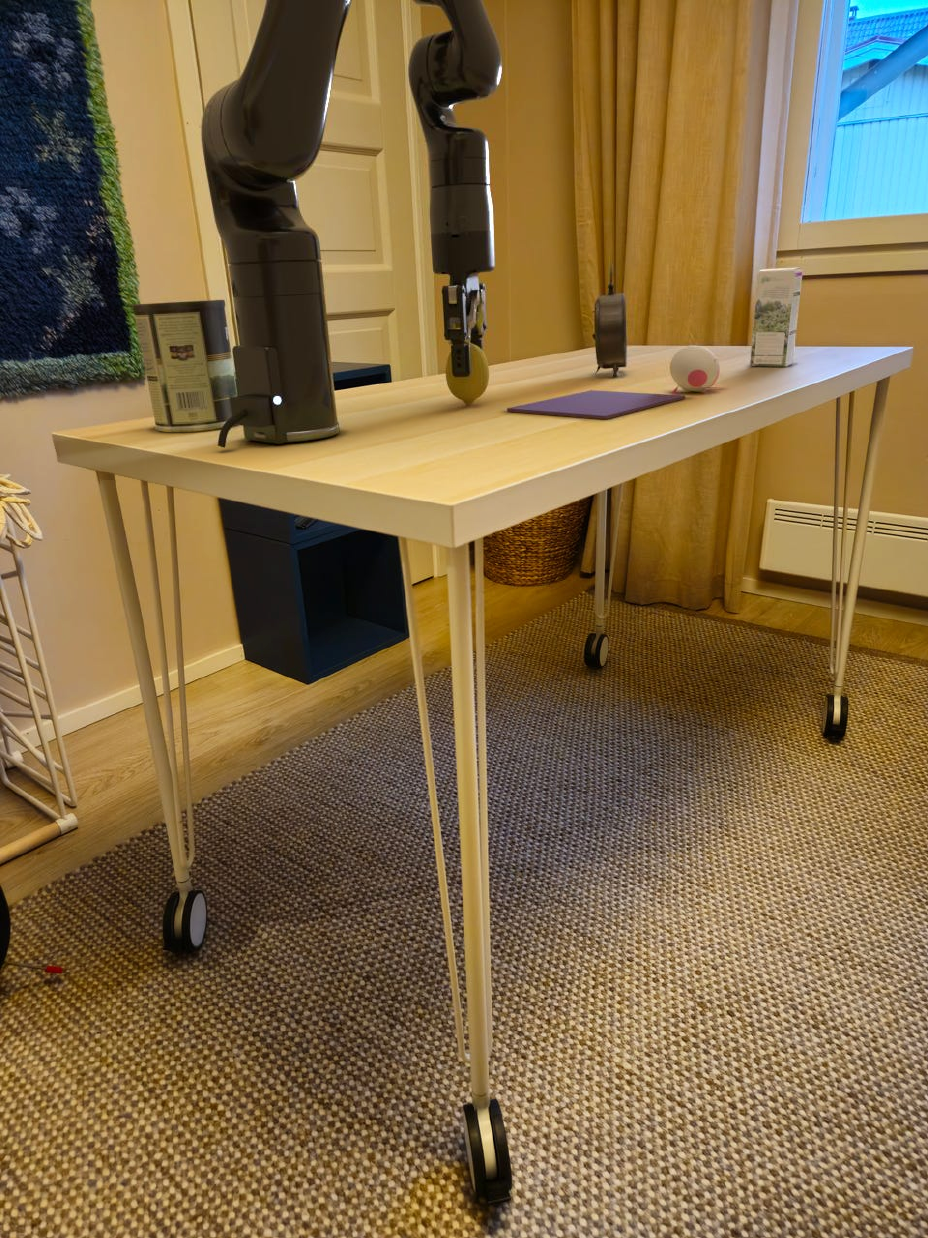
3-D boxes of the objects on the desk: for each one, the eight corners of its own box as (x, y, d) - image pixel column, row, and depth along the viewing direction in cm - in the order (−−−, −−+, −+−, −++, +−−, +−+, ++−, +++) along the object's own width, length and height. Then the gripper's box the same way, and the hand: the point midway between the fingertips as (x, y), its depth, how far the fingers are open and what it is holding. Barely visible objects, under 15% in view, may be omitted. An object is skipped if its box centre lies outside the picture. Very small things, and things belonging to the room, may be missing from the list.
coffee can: (222, 416, 107) (205, 299, 102) (256, 424, 99) (238, 298, 94) (142, 426, 101) (119, 304, 96) (171, 435, 94) (148, 303, 88)
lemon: (463, 401, 110) (461, 338, 107) (498, 403, 107) (496, 338, 104) (438, 407, 106) (434, 341, 103) (473, 409, 102) (471, 341, 99)
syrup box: (794, 363, 135) (804, 266, 129) (785, 367, 130) (795, 267, 125) (758, 363, 138) (766, 268, 132) (748, 366, 133) (756, 269, 128)
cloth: (605, 419, 91) (605, 415, 91) (507, 411, 100) (507, 408, 99) (685, 398, 103) (685, 395, 103) (591, 393, 112) (591, 390, 112)
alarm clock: (625, 378, 126) (628, 262, 120) (589, 379, 127) (591, 264, 121) (627, 370, 136) (630, 263, 130) (594, 371, 137) (595, 265, 131)
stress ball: (717, 419, 107) (748, 373, 106) (672, 386, 104) (703, 339, 103) (691, 409, 114) (720, 366, 112) (648, 378, 111) (677, 333, 109)
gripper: (445, 234, 106) (452, 367, 112) (415, 229, 93) (425, 380, 99) (503, 230, 104) (506, 366, 110) (481, 225, 91) (487, 378, 97)
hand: (468, 372), depth 105 cm, fingers open, 7 cm apart
